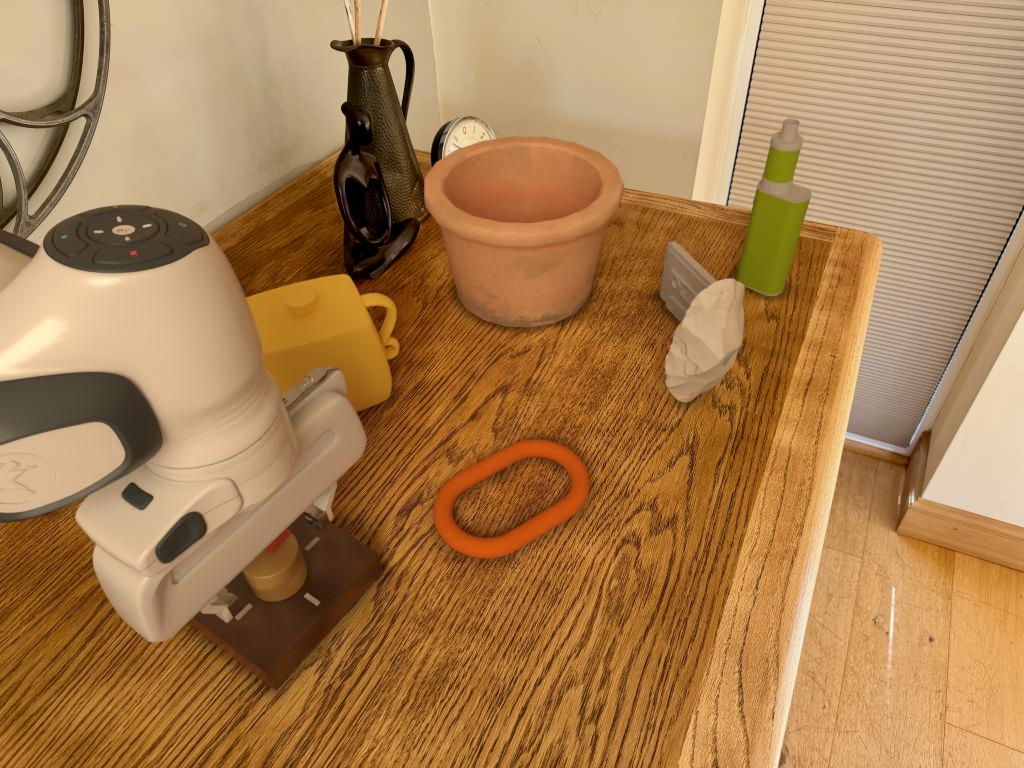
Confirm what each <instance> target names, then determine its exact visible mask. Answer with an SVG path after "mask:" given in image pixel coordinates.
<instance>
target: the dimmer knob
mask: <svg viewBox="0 0 1024 768" xmlns="http://www.w3.org/2000/svg"><path fill="white" fill-rule="evenodd" d="M242 572H243V574H244V576H245V578H246V580H247V582H248V584H249V586H250V588H251V590H252V592H253V593H254V594H255V596H257V597H258V598H259V599H261V600H264V601H268V602H276V601H281V600H284V599H287V598H289V597H291V596H292V595H294V594H295V593H296V592H298V591H299V590H300V588H301V587H302V586H303V584H304V582H305V580H306V578H307V572H308V570H307V565H306V562H305V560H304V557H303V555H302V552H301V550H300V547H299V545H298V542H297V540H296V538H295V536H294V535H293V534H292V533H291V531H290V530H288V529H287V528H286V529H285V530H284V531H283V532H282V533H281V534H280V535H279V536H278V537H277V538H276V539H275V540H274V541H273V542H272V543H271V544H270V545H268V546H267V547H266V548H265V549H264V550H263V551H262V552H261V553H260V554H259V555H258V556H257V557H256V558H255V559H254V560H253V561H252V562H251V563H250V564H249V565H248V566H246V567H245V568H244V569H243V570H242Z"/></svg>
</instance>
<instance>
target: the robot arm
mask: <svg viewBox="0 0 1024 768" xmlns="http://www.w3.org/2000/svg"><path fill="white" fill-rule="evenodd" d="M246 298H247V297H246V294H245V292H244V290H243V287H242V285H241V283H240V281H239V279H238V276H237V275H236V272H235V270H234V268H233V266H232V264H231V263H230V261H229V258H228V257H227V255H226V254H225V252H224V251H223V249H222V247H221V246H220V245H219V244H218V242H217V241H216V240H215V239H214V237H213V236H212V234H210V233H209V232H208V231H207V230H205V228H203V226H201V225H200V224H199V223H197V222H196V221H194V220H192V219H191V218H189V217H187V216H185V215H183V214H180V213H179V212H175V211H172V210H170V209H167V208H166V209H165V208H160V207H156V206H155V207H154V206H151V205H144V204H115V205H106V206H100V207H95V208H92V209H88V210H85V211H82V212H80V213H76V214H74V215H71V216H69V217H66V218H65V219H62V220H60V221H59V222H58V223H56V224H55V225H53V226H52V227H51V228H50V229H49V230H48V231H47V232H46V233H45V235H44V236H43V238H42V240H41V243H40V244H38V243H35V242H34V241H31V240H29V239H27V238H25V237H22V236H20V235H17V234H14V233H13V232H10V231H7V230H4V229H2V228H0V524H8V523H9V524H11V523H17V522H22V521H28V520H32V519H37V518H40V517H42V516H45V515H48V514H52V513H54V512H56V511H58V510H61V509H63V508H65V507H67V506H70V505H72V504H74V503H77V502H79V501H80V500H83V499H84V500H83V501H82V502H81V503H80V505H79V506H78V508H77V509H76V512H75V515H74V518H75V521H76V523H77V525H78V526H79V527H80V529H81V530H82V531H83V532H84V533H85V535H86V536H87V537H88V538H89V539H90V540H91V542H93V543H94V544H95V545H94V548H93V551H92V566H93V569H94V574H95V576H96V578H97V580H98V583H99V584H100V587H101V589H102V591H103V593H104V594H105V597H106V598H107V600H108V601H109V603H110V605H111V606H112V608H113V609H114V611H115V612H116V613H117V615H118V616H119V617H120V618H121V619H122V620H123V621H124V622H125V623H126V624H127V625H128V626H129V627H130V628H131V629H132V630H134V631H135V632H136V633H137V634H138V635H139V636H141V637H142V638H143V639H145V640H146V641H147V642H149V643H154V644H155V643H162V642H167V641H170V640H171V639H172V638H173V637H174V636H175V635H177V633H179V632H180V630H182V629H183V628H184V627H185V626H186V625H187V624H189V623H188V622H189V621H190V620H191V619H192V618H193V617H194V616H195V615H196V614H197V613H198V612H199V611H200V612H201V613H203V614H216V615H217V616H218V617H220V618H221V619H222V620H224V621H225V622H226V623H228V622H229V621H230V620H231V619H232V618H233V617H234V616H235V615H236V614H237V613H238V612H239V611H240V610H241V609H242V608H243V606H242V605H241V604H240V600H239V599H238V597H237V596H235V595H234V594H233V593H229V591H228V590H227V589H226V588H224V587H225V586H227V585H228V584H229V583H230V582H231V581H232V580H233V579H234V578H235V577H236V576H237V575H238V574H239V573H240V572H241V571H242V570H243V569H244V568H245V567H246V566H248V565H249V564H250V563H251V562H252V561H253V560H254V559H255V558H256V557H257V556H258V555H259V554H260V553H261V552H262V551H263V550H264V549H265V548H266V547H267V546H268V545H270V544H271V543H272V542H273V541H274V540H275V539H276V538H277V537H278V536H279V535H280V534H281V533H282V532H283V531H284V530H285V529H286V528H287V527H288V526H289V525H291V524H292V523H293V522H294V521H295V520H296V519H297V518H298V517H299V516H300V515H301V514H302V513H303V514H304V515H305V519H306V521H307V522H308V523H309V524H310V525H312V526H316V529H318V530H322V529H323V528H324V527H325V526H326V525H327V524H328V523H329V522H330V523H331V521H332V520H333V519H334V518H335V516H334V512H333V510H332V505H333V502H334V499H335V494H336V491H337V487H338V482H337V481H338V480H339V479H340V478H341V477H342V476H344V474H346V472H348V470H349V469H350V468H352V466H354V465H355V464H356V463H357V462H358V461H359V460H360V459H361V458H362V457H363V456H364V453H365V450H366V447H367V444H368V438H367V434H366V431H365V429H364V426H363V424H362V420H361V418H360V417H359V414H358V412H356V410H355V409H354V407H353V405H352V403H351V402H350V401H349V400H348V399H347V398H346V397H347V386H346V382H345V378H344V375H343V373H342V372H341V370H340V369H339V368H337V367H335V366H327V367H325V368H322V367H317V368H315V369H313V370H311V371H310V372H309V373H307V374H306V375H305V377H304V379H302V380H301V381H300V382H298V383H297V384H295V385H294V386H292V387H290V388H289V389H288V390H286V391H285V392H284V393H282V394H281V393H280V390H279V387H278V385H277V383H276V381H275V379H274V378H273V376H272V375H271V374H270V372H269V371H268V370H267V369H266V368H265V367H264V365H263V361H262V355H263V347H262V340H261V336H260V333H259V330H258V327H257V325H256V322H255V319H254V316H253V314H252V311H251V309H250V306H249V304H248V301H247V299H246Z"/></svg>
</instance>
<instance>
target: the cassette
mask: <svg viewBox="0 0 1024 768" xmlns="http://www.w3.org/2000/svg"><path fill="white" fill-rule="evenodd" d="M662 269H663V270H662V276H661V282H660V290H659V297H660V298H661V300H662V301H663V302H664V303H665V304H664V306H665V307H666V308H667V310H668V311H669V312H670V313H671V314H672V315H673V316H674V318H676V320H678V321H679V323H681V322H682V321H683V319H684V317H685V313H686V311H687V310H688V308H689V306H690V304H691V302H692V301H693V299H694V298H695V297H696V296H697V295H698V294H699V293H700V292H701V291H702V290H703V289H706V288H707V287H708V286H709V285H711V284H712V283H714V282H716V281H717V280H716V278H714V276H713V275H712V274H711V273H710V272H708V270H707V269H705V268H704V267H703V266H702V265H701V264H700V263H699V262H698V261H697V260H696V259H695V258H694V257H693V256H692V255H691V254H689V252H688V251H687V250H685V249H684V248H683V246H681V245H680V244H679V243H678V242H677V241H676V240H673V241H669V242H667V244H666V249H665V257H664V263H663V268H662Z"/></svg>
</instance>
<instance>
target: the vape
mask: <svg viewBox="0 0 1024 768" xmlns="http://www.w3.org/2000/svg"><path fill="white" fill-rule="evenodd" d="M800 123H801V122H800V121H799V120H798V119H796V118H791V117H790V118H785V119H784V120H783V123H782V126H781V130H780V131H777V132H774V133H773V134H772V135H771V139H770V144H769V148H768V152H767V157H766V161H765V166H764V170H763V173H762V174H761V180H760V181H758V183H757V186H756V190H755V194H754V196H753V199H752V207H751V212H750V216H749V220H748V225H747V228H746V234H745V238H744V241H743V246H742V250H741V254H740V255H741V256H740V258H739V262H738V263H739V264H738V268H737V270H736V271H737V272H736V276H735V281H738V282H740V283H742V284H743V285H744V286H745V288H748V289H749V290H752V291H755V292H757V293H759V294H761V295H763V296H766V297H774V296H778V295H780V294H781V293H782V292H784V289H785V287H786V284H787V279H788V276H789V273H790V269H791V266H792V263H793V259H794V256H795V253H796V249H797V246H798V243H799V239H800V235H801V232H802V228H803V225H804V222H805V219H806V215H807V212H808V208H809V204H810V201H811V198H812V195H813V193H812V190H810V188H807V187H805V186H802V185H799V184H797V183H794V176H795V172H796V169H797V164H798V161H799V157H800V153H801V150H802V147H803V144H804V137H803V136H802V135H801V134H799V133H798V131H799V127H800Z"/></svg>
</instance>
